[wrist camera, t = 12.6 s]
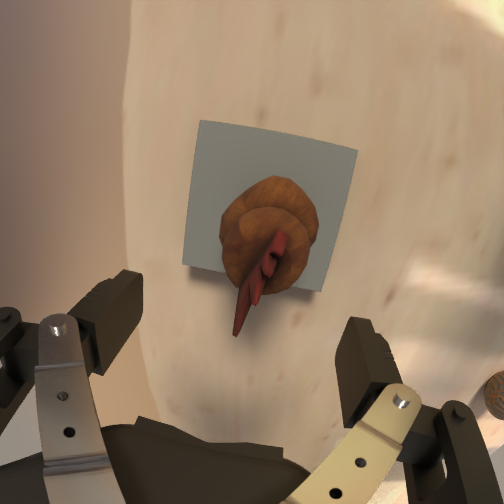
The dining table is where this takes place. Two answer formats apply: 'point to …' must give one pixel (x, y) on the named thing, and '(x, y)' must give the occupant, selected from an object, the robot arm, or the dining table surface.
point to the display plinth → (257, 169)
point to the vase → (495, 395)
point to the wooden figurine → (266, 240)
